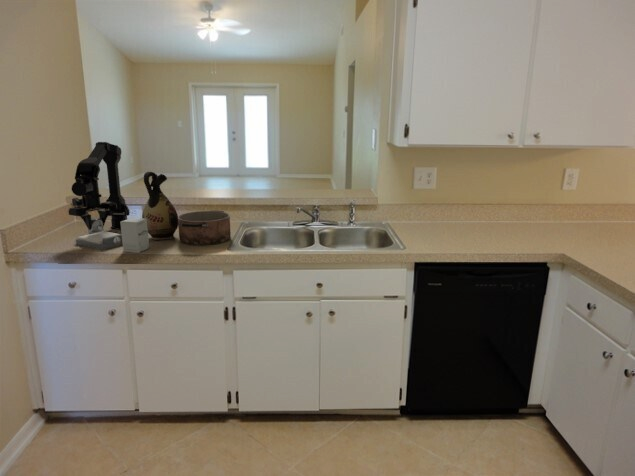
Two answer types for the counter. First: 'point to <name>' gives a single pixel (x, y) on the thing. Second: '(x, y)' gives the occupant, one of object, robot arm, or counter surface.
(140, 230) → the supplement box
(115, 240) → the kitchen scale
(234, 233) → the counter surface
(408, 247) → the counter surface
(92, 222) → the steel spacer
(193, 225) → the cooking pot
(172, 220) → the ceramic jug
